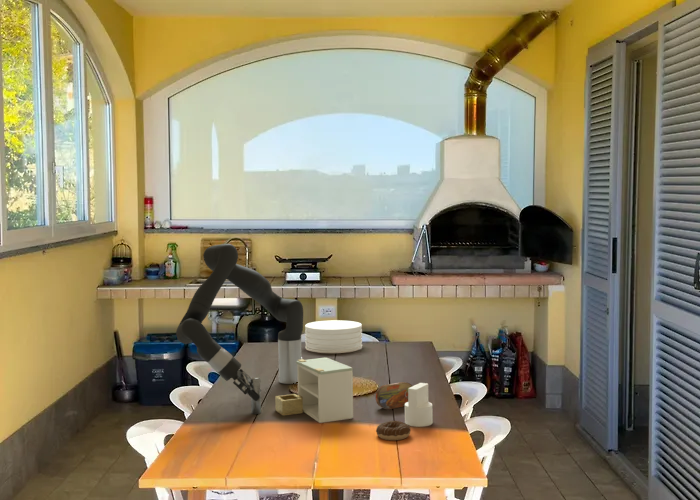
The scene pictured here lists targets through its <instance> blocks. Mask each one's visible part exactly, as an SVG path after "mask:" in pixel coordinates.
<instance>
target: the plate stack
mask: <svg viewBox="0 0 700 500" xmlns="http://www.w3.org/2000/svg"><path fill="white" fill-rule="evenodd" d="M362 327H363V325H362V323H361V322H360V321H359V322H358V321H353V320H341V319H340V320H339V319H333V320H331V319H329V320H317V321H312V322H311V321H310V322H308V323H306V324H305V325H304V329H305V330H304V334H305V335H304V336H305V337H304V339H305V341H304V342H305V347H304V348H305V350H307V351H309V352H313V353H319V354H320V353H321V354H341V353H352V352H356V351H359V350H362V348H363V344H362V343H363V339H362V338H363V334H362V333H363V328H362Z"/></svg>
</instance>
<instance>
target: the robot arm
mask: <svg viewBox="0 0 700 500" xmlns="http://www.w3.org/2000/svg"><path fill="white" fill-rule="evenodd" d="M238 253H239V252H238V250H237V248H236V247H235V246H234V245H233V244H230V243H221V244H214V245H211V246H209V247H207V248H206V249H205V250H204V252H203V256H202V257H203V260H204V261H203V262H204V263H205V265H206V267H207V268H208V269H209V270H211V271H212V272H211V273H210V275H209V276H208V277H207V278H206V280H204V282H203V283H202V284H200V286H199V287H198V288H197V289H196V291H195V292H194V294H193V296H192V298H191V301H190V303H189V306H188V308H187V310H186V311H185V314H184V315H183V317H182V319H181V321H180V322H179V324H178V326H177V329H176V332H175V335H176V338H177V340H178V342H180V343H182V344H185V345H186V344H190V343H193V344H194V345H195V346H196V352H197V354H198V355H199V356H200V358H202V359H203V360H204V361H205V362H206V363H207V364H208V365H209V366H210V367H211V368H212V369H213V371H215V372H216V373H217V374H218V375H219V376H220V377H221V378H222V379H223V380H224V381H225V382H228V381H229V380H231V379H232V380H233V382H232V384H233V385H235V386H236V387H237V389H239V390H240V391H241V392H242V393H243V394H244V395H247V396H249V397H250V399H251V398H253V399H254V400H255V401H257V400H258V399H259V398H261V394H260V395H259V394H257V393H256V392H255V391H254V390H253V389H252V387H251V378H252V377H251V376H250V375H248V374H247V372H245V370H243V369H242V368H241V367H242V364H241V362H239V361H238V360H237V359H236V357H234V356H233V355H232V354H231V353H230V352H229V351H227V350H226V349H225V348H224V347H222V346H221V345H220V344H219V343H218V342H217V341H216V340H215V339H214V338H213V337H212V336H211V334H210V332H209V331H208V329H207V328H206V327H205V326H204V325H203V321H204V320H205V319H206V318H207V317H208V314H209V313H210V310H211V307H212V305H213V303H214V301H215V299H216V296H217V295H218V293H219V291H220V290H221V288H222V287H223V286H224V283H225V282H226V280H228V281H229V282H230V283H232V284H233V285H234V286H235V287H237V288H238V289H239V290H241V291H242V292H243V293H245V294H246V295H247V296H249V297H250V298H251V299H252V300H254V301H256V302H257V303H258V304H259V305H260V306H262V307H263V308H265V309H266V310H267V311H268V312H269V314H271V316H273V317H274V319H276V320H277V321H280V322H283V323H286V324H285V325H286V326H285V329H283V330H281V331H279V332H278V334H277V343H278V344H277V345H278V347H277V348H278V349H277V351H278V382H279V383H280V384H285V385H292V384H293V383H294V384H297V383H296V382H298V371H297V364H296V361H298V360H300V359H304V357H302V334H303V329H304V306H303V303H302V302H301V301H300V300H297V299H292V298H284V297H281V296H280V295H278V294H277V293H275V292H274V291H273V289H272V286H271V283H270V281H269V280H268V279H267V278H266V277H265V276H264V275H262V274H261V273H260V272H258V271H256V270H254V269H252V268H249V267H248V266H247V267H246V266H243V265H241V264H238V263H237V262H238V259H239V254H238ZM294 384H293V385H294ZM261 392H262V389H261V388H260V393H261Z"/></svg>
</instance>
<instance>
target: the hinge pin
mask: <svg viewBox="0 0 700 500" xmlns="http://www.w3.org/2000/svg"><path fill="white" fill-rule="evenodd" d="M251 387H252V389H253V390H254V391H255V392H256V393H257V394H259V395H260V396H261V392H260V389H261V377H260V376H259V377H257V376H256V377H255V376H254V377H251ZM250 405H251V406H250V408H251V410H250V411H251V414H252V415H259V414H261V413H262V411H261V409H262V408H261V406H262V405H261V397H260V398H259V399H258V400H257V401H255V400H254V399H253V398H251V397H250Z"/></svg>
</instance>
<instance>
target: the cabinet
mask: <svg viewBox="0 0 700 500" xmlns="http://www.w3.org/2000/svg"><path fill="white" fill-rule="evenodd" d="M296 364H297V371H298V383H297V395H300V396H302V397H303V411H302V413H305V414H306V415H308V416H309V417H311V418H312V419H314V420H315V421H316V422H318V423H319V424H322V423H329V422H335V421H336V422H337V421H343V420H349V419H350V420H351V419H354V393H353V392H354V390H353V389H354V388H353V387H354V386H353V385H354V383H353V381H354V380H353V378H354V377H353V370H354V368H353V367H351V366H349V365H347V364H344V363H341V362H339V361H336V360H334V359H331V358H329V357H327V356H326V357H320V358H311V359H304V358H303V359H300V360H298V361H296Z"/></svg>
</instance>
